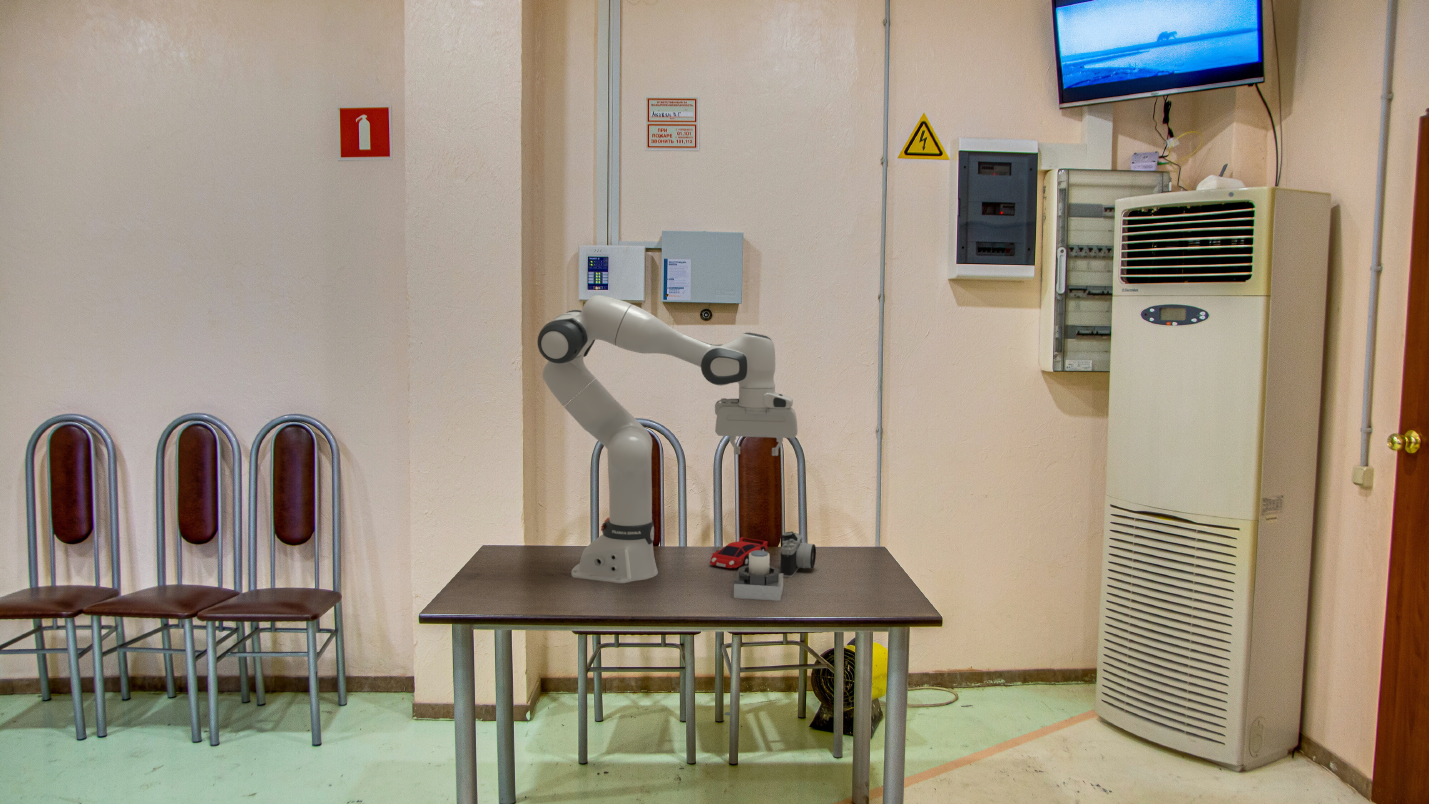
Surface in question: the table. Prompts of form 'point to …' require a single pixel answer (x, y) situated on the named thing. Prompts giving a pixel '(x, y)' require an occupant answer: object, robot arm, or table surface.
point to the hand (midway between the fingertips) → (755, 454)
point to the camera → (795, 554)
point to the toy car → (736, 553)
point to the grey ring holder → (758, 585)
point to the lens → (759, 562)
